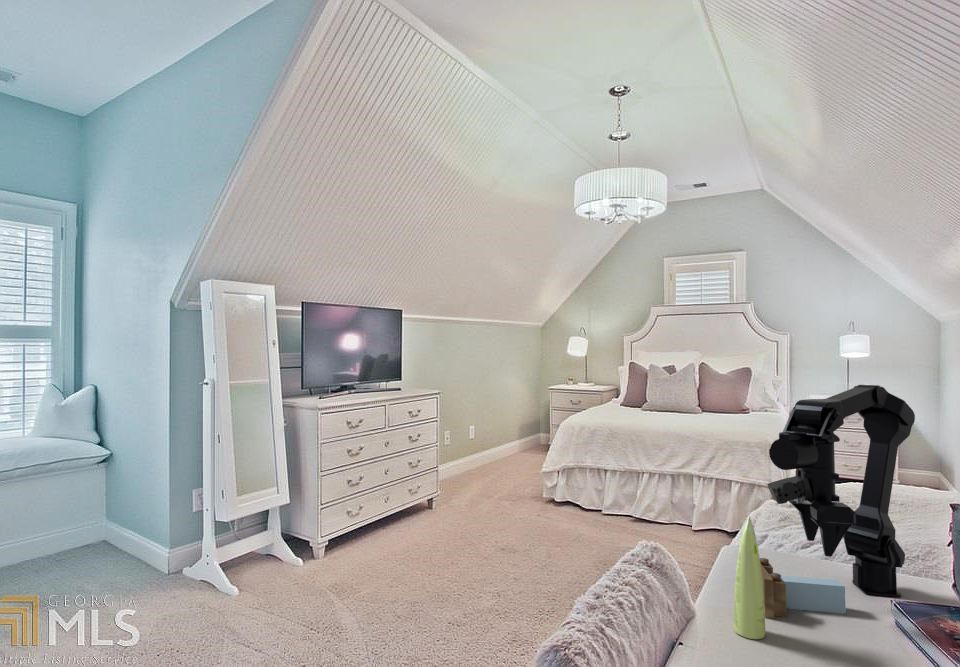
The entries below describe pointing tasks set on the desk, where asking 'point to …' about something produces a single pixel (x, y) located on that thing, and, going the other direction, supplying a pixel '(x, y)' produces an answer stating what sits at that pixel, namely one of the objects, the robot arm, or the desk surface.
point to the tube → (749, 588)
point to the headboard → (773, 591)
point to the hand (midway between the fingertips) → (818, 548)
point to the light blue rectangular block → (814, 594)
